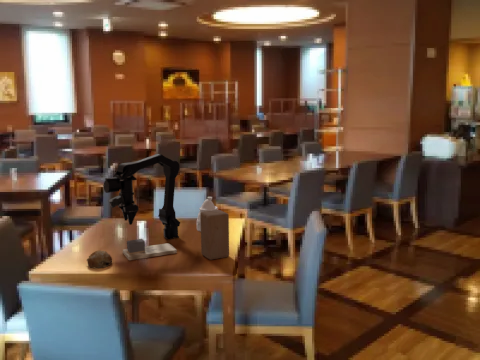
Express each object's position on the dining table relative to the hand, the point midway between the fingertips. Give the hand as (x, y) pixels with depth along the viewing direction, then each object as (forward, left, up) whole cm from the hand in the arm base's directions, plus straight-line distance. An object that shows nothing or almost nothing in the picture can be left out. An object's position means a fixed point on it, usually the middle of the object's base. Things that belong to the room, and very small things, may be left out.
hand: (128, 222), depth 227 cm
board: (-6, +14, -12) cm, 19 cm away
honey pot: (-46, -12, -12) cm, 49 cm away
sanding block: (0, +14, -10) cm, 18 cm away
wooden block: (-31, +32, -12) cm, 46 cm away
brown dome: (+18, +19, -12) cm, 29 cm away
